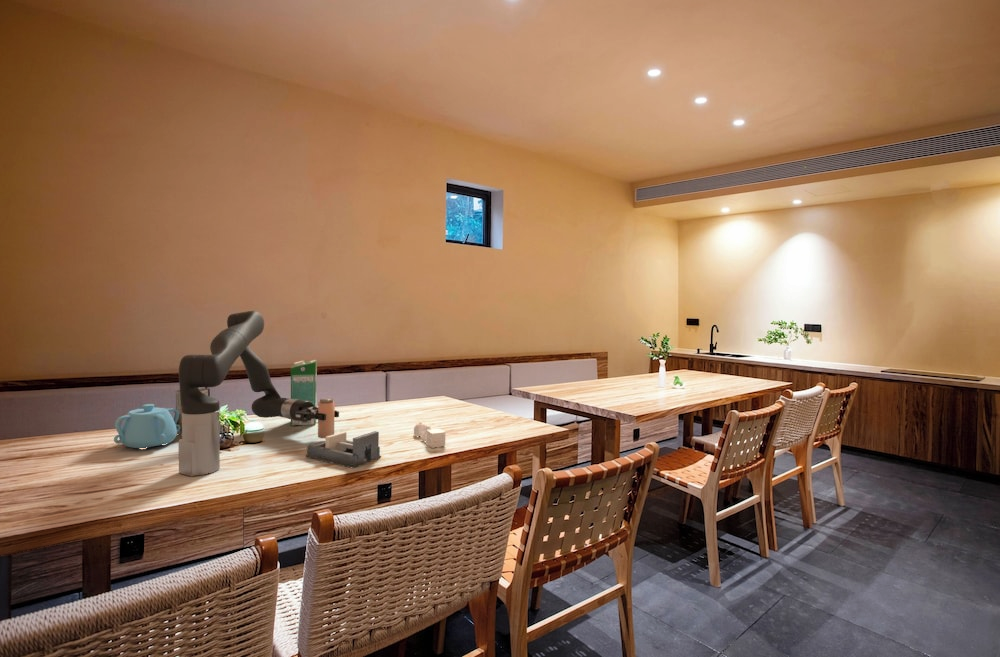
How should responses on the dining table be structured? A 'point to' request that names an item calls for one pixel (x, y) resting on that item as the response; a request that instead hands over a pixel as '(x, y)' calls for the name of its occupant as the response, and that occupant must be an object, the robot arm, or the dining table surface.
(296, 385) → the milk carton
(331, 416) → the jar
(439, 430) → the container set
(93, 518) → the dining table surface
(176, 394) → the coffee box
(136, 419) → the decorative pot
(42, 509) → the dining table surface
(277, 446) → the dining table surface
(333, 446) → the pusher
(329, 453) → the grey holder
